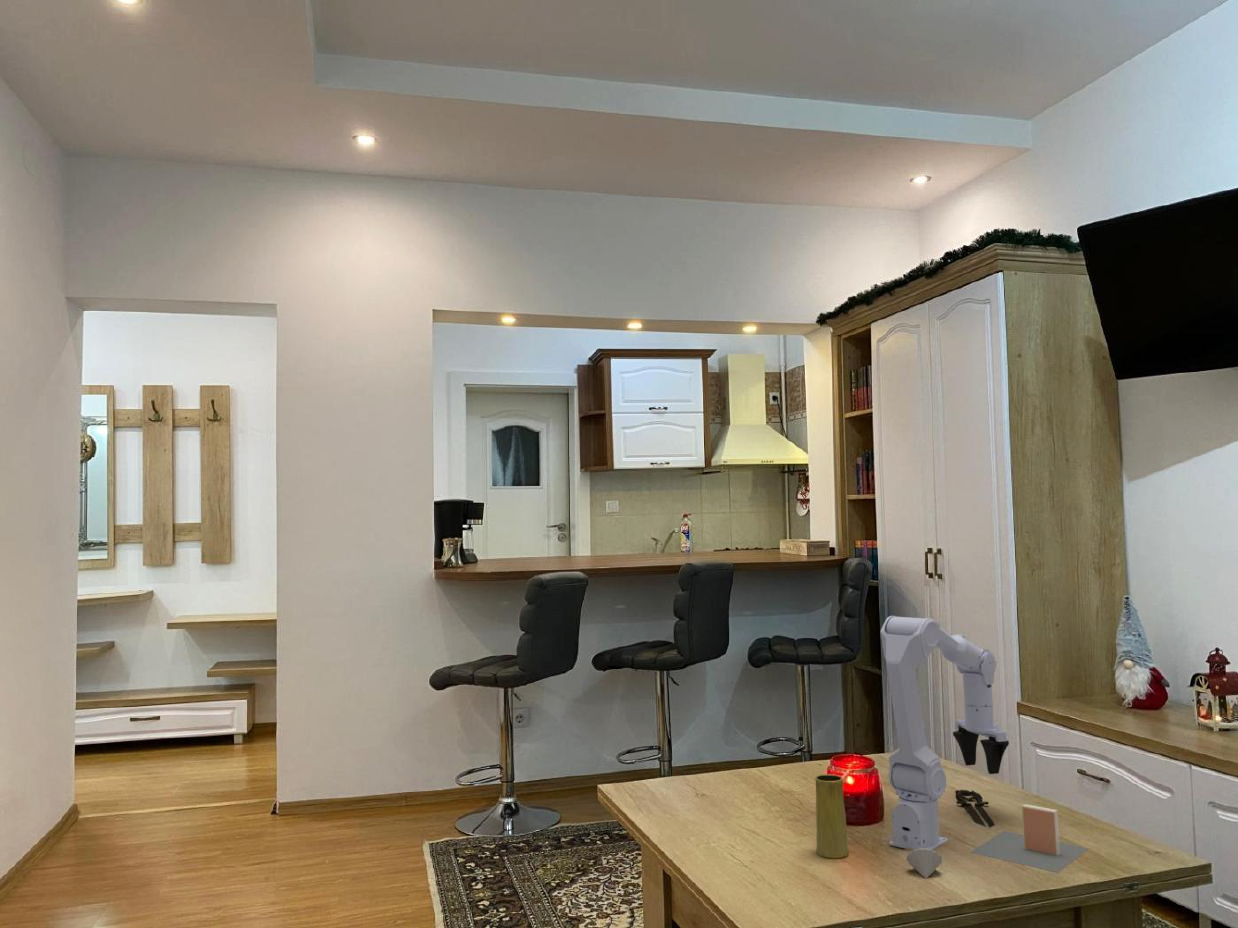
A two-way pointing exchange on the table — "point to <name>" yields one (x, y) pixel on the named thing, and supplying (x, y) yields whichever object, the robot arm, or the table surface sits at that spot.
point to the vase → (830, 817)
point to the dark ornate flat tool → (970, 808)
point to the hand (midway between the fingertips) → (981, 768)
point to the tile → (1041, 829)
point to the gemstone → (924, 861)
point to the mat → (1027, 852)
